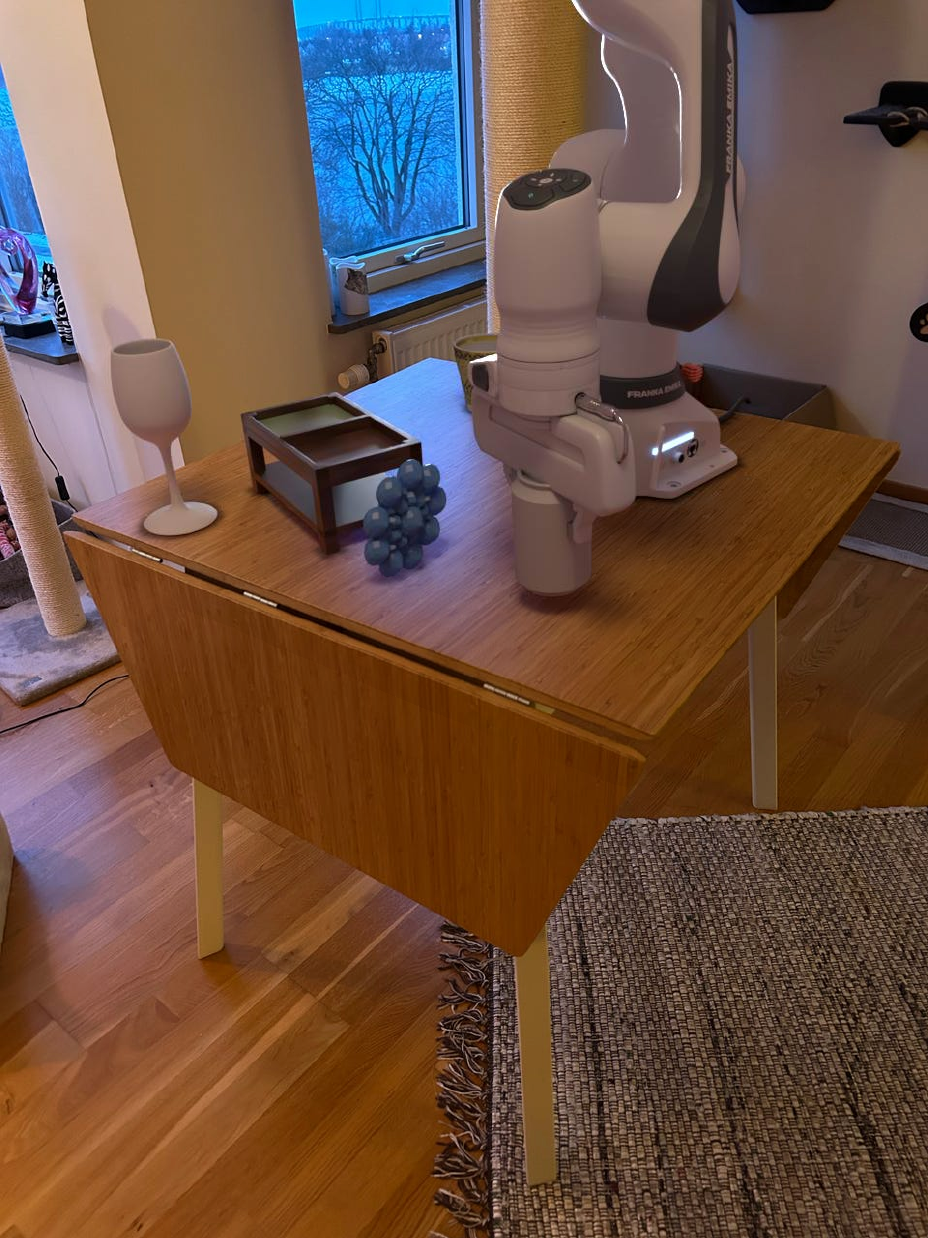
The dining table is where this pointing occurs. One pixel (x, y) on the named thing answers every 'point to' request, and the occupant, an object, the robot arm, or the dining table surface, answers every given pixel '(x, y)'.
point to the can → (546, 540)
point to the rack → (325, 460)
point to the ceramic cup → (472, 356)
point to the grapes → (404, 518)
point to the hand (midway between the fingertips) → (550, 522)
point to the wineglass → (158, 420)
